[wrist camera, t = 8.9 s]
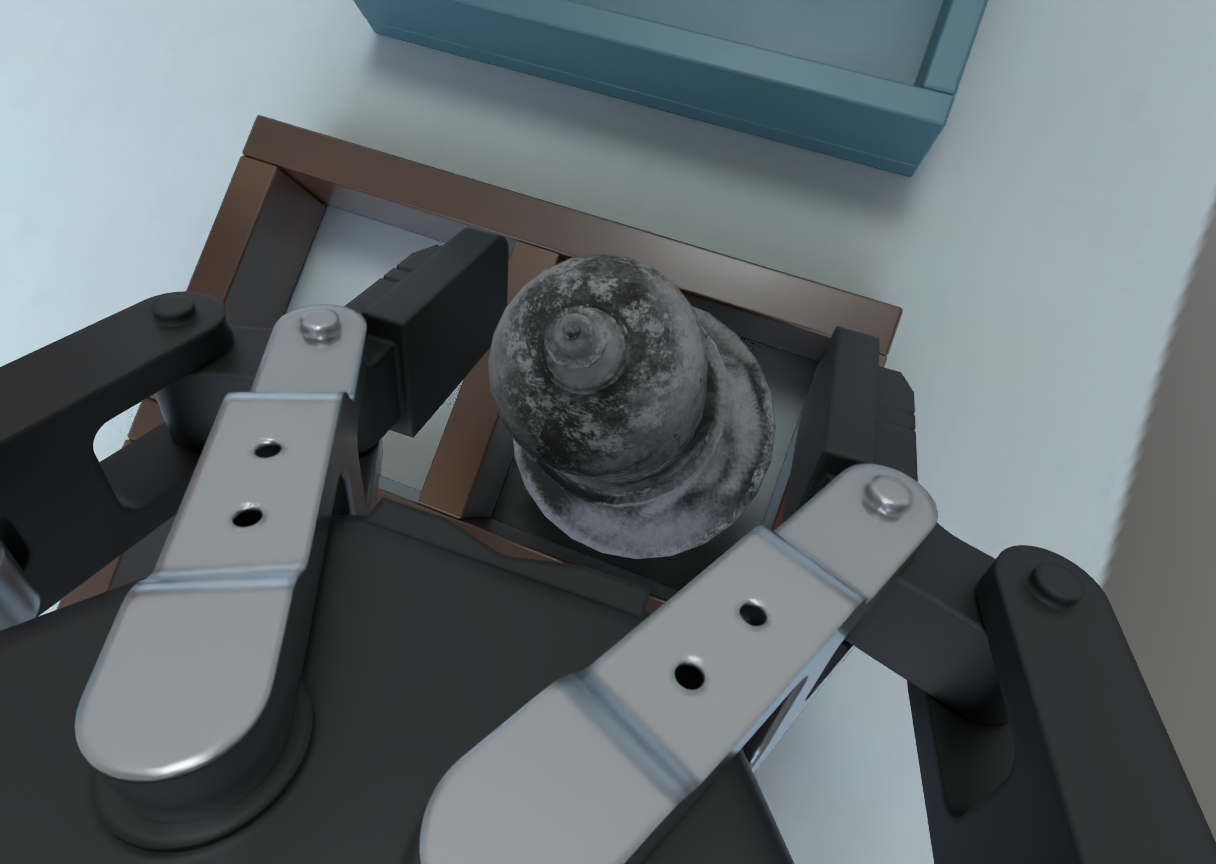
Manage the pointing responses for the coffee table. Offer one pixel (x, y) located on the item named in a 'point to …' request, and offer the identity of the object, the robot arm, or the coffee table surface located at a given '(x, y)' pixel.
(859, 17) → the tray
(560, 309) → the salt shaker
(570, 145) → the coffee table surface
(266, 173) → the spice rack
